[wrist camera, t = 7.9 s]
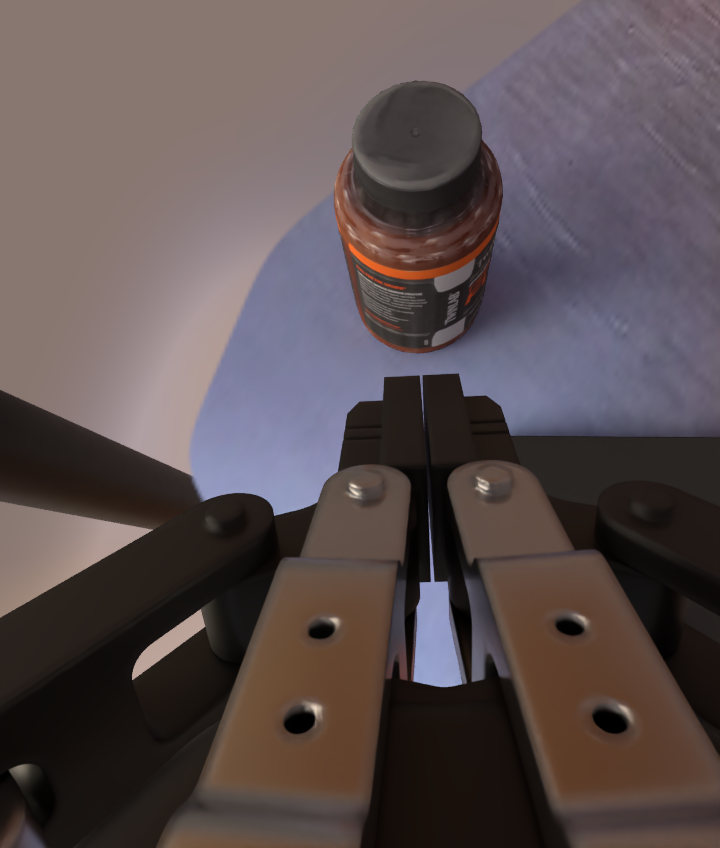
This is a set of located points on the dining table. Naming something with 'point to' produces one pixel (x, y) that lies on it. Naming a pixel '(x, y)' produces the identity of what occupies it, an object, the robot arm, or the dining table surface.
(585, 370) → the dining table surface
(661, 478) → the kitchen scale
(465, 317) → the supplement bottle
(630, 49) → the dining table surface
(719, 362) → the dining table surface
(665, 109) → the dining table surface
